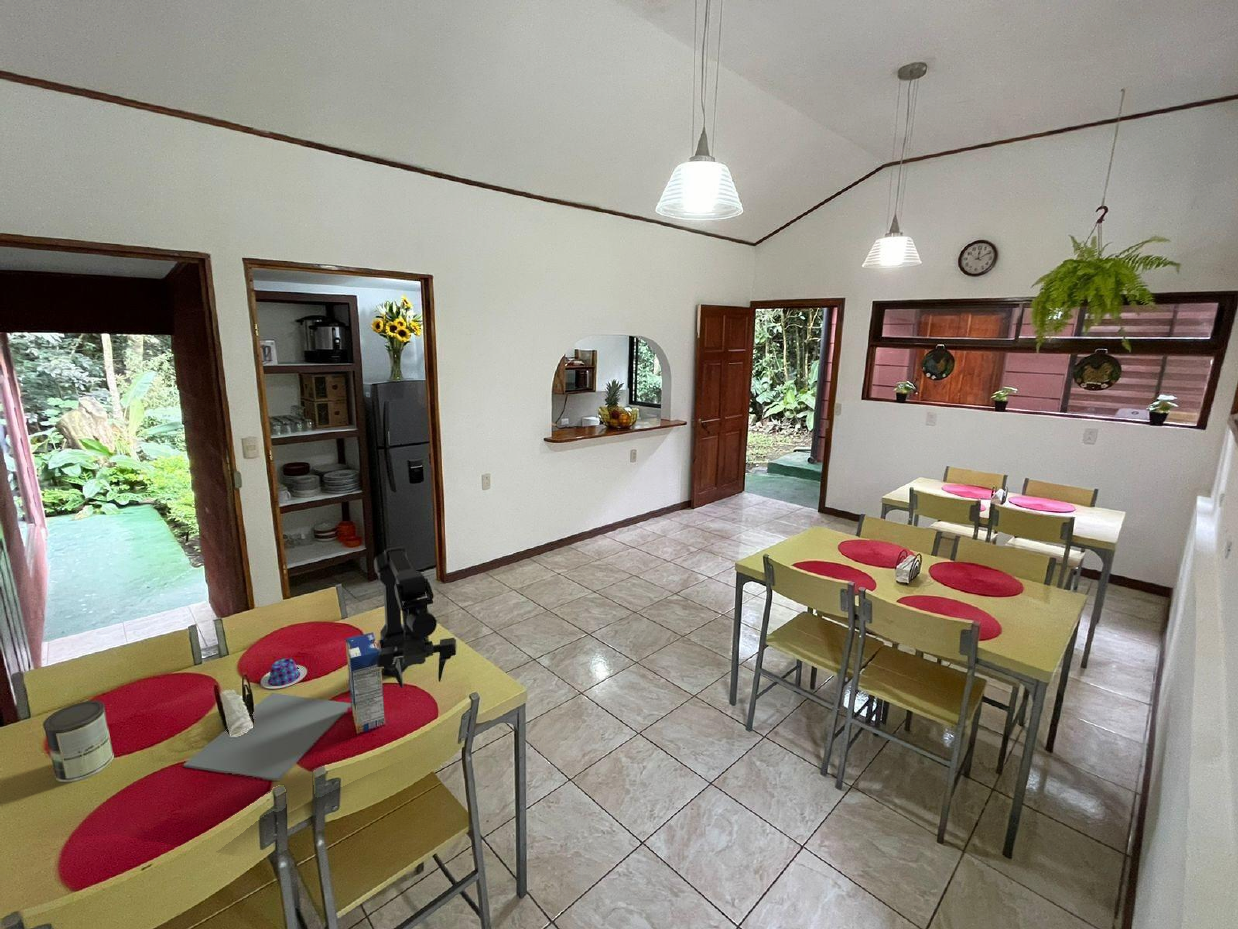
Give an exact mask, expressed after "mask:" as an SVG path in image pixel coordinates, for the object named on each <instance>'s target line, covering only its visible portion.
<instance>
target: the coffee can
mask: <svg viewBox="0 0 1238 929" xmlns="http://www.w3.org/2000/svg"><path fill="white" fill-rule="evenodd" d="M42 727H43V731H44V733H45V737H46V740H47V745H48V749H49V753H50V759H51V761H52V765H53V767H52V768H53V771H54V776H55V780H56V781H57V782H60V783H74V782H77V781H78V782H79V781H81V780H84V779H87V778H89V777H92V776H93V775H96V774H98V773H100V772H101V771H102V770H104V769H105V768H107V767H108V766H109V765H110V764H111V763H112V761H113V760H114V758H115V753H114V751H113V746H112V740H111V736H110V730H109V726H108V721H107V717H106V711H105V704H104V703H103V702H102V701H101V700H84V701H81V702H77V703H73V704H70V705H67V706H65V707H63V708H61V709H59V710H57V711H55V712H53V713H52V714H51V715H49V716H48V717H47V718H45V720H44V721H43V723H42Z"/></svg>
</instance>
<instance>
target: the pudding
mask: <svg viewBox="0 0 1238 929" xmlns="http://www.w3.org/2000/svg"><path fill="white" fill-rule="evenodd" d="M270 667H271V668H270V671H269V672H268V673H266V674H264V676H263V677H261V680H260V685H261V686H262V687H263V688H266V689H282V688H287V687H289V686H290V687H291V686H292V685H294V684H296V683H298V682H300V681H301V680H303V678H305V676H306V675H307V673H308V669H307V668H306V667H305V666H303V665H300V664H296V663H295V660H294V659H292V658H283V659H278V660H276V661H274V663H272V665H271V666H270ZM297 667H298V668H299V669H297Z"/></svg>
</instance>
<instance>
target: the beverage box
mask: <svg viewBox="0 0 1238 929" xmlns="http://www.w3.org/2000/svg"><path fill="white" fill-rule="evenodd" d="M377 644H378V641H377V640H376V637H375V634H374V632H368V633H364V634H360V635H355V636H351V637H347V638H345V651H346V660H347V670H348V682H349V692H350V701H351V702H350V703H351V713H352V717H354V718H353V722H354V725H355V729H356V734H357V735H359V734H358V733H360V732H363V733H365V732H364V731H366V732H368V731H367V730H369V729H372V730H374V729H373V728H375V727H377V726H380V725H383V724H385V725H386V716H385V701H384V691H383V679H382V678H383V676H382V674H381V671H382V667H378V665H377V657H378V654H379V652H380V651H379V648H378V645H377ZM375 729H376V728H375ZM369 731H370V730H369ZM360 734H361V733H360Z"/></svg>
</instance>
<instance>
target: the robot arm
mask: <svg viewBox="0 0 1238 929" xmlns="http://www.w3.org/2000/svg"><path fill="white" fill-rule="evenodd" d="M373 568H374V571H375V574H377V576H378V577H377V578H379V580H380V582H381V583H382V584H383V601H384V620H385V623H384V626H383V627H382V629H381V630H380V633H379V638H380V639H379V640H378V641H377V645H378V648H379V651H380V652H379V654H378V657H377V665H378V667H381V668H382V669H381V674H382V675H384V676H390V677H391V676H392V677H393V676H394V678H395V679H396V681H397V683H398V685H399V687H400V688H401V689H403V687H404V680H403V678H404V677H403V673H404V672H405V671H406V669H407V668H409V667H411V666H413V665H423V664H425V663H426V658H429V657H433V656H434V654H437V653H439V655H438V656H439V657H438V672H437V673H438V677H437V678H438V682H439V683H440V682H441V680H442V677H443V671H444V668H445V665H446V662H447V660H450V659H452V657H453V656H456V655H457V648H458V647H457V639H456V638H455V637H449V638H443V639H442V638H441V639H440V640H439V644H434V643H433V641H432V640H430V638H429V637H430V636H431V635H432V634H433V633H434V632H435V630H436V629H437V626H438V625H437V624H438V623H437V618H436V617H435V615H433V614H432V612H430V611H429V609H428V605H432V604H434V601H433V599H434V597H435V595H434V593H433V590H432V585H431V582H430V581H429V580H428V578H427V577H425V576H424V574H423V573H422V572H421V571H420V570H414V569H413V567H412V565H411V563H410V561H409V558H408V554H407V551H405V548H404V546H402V547H401V546H396V547H393V548H387V549H385V550H384V551H383V552H382V553H380V554H378V555H377V556H375V558H374V560H373Z"/></svg>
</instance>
